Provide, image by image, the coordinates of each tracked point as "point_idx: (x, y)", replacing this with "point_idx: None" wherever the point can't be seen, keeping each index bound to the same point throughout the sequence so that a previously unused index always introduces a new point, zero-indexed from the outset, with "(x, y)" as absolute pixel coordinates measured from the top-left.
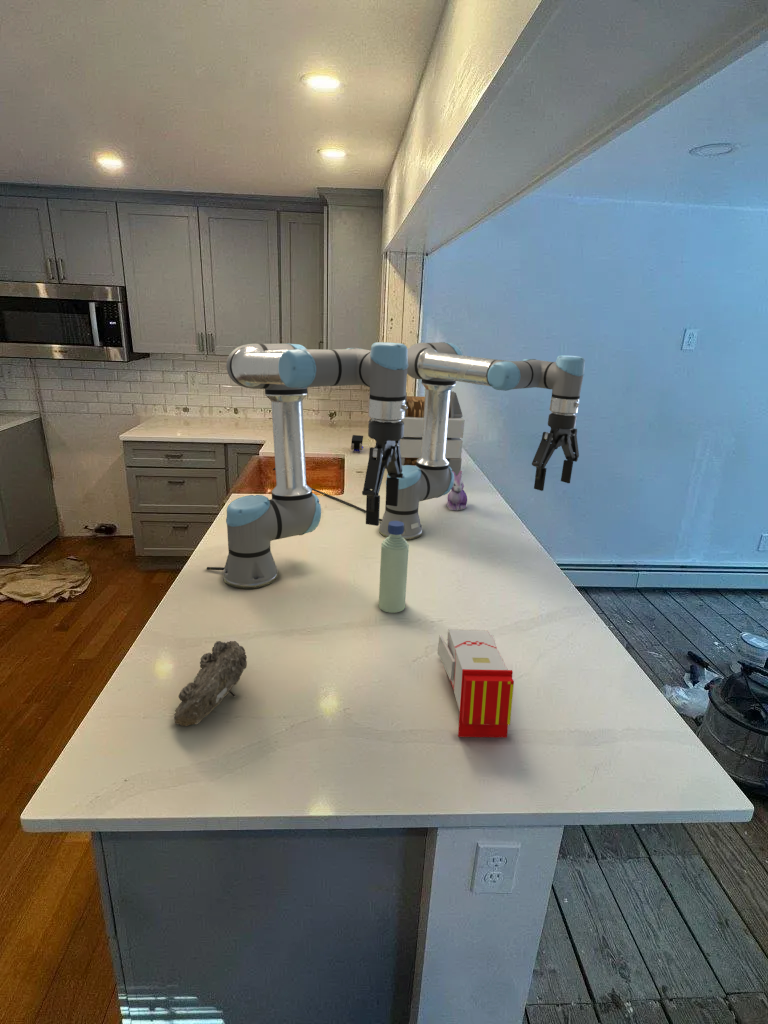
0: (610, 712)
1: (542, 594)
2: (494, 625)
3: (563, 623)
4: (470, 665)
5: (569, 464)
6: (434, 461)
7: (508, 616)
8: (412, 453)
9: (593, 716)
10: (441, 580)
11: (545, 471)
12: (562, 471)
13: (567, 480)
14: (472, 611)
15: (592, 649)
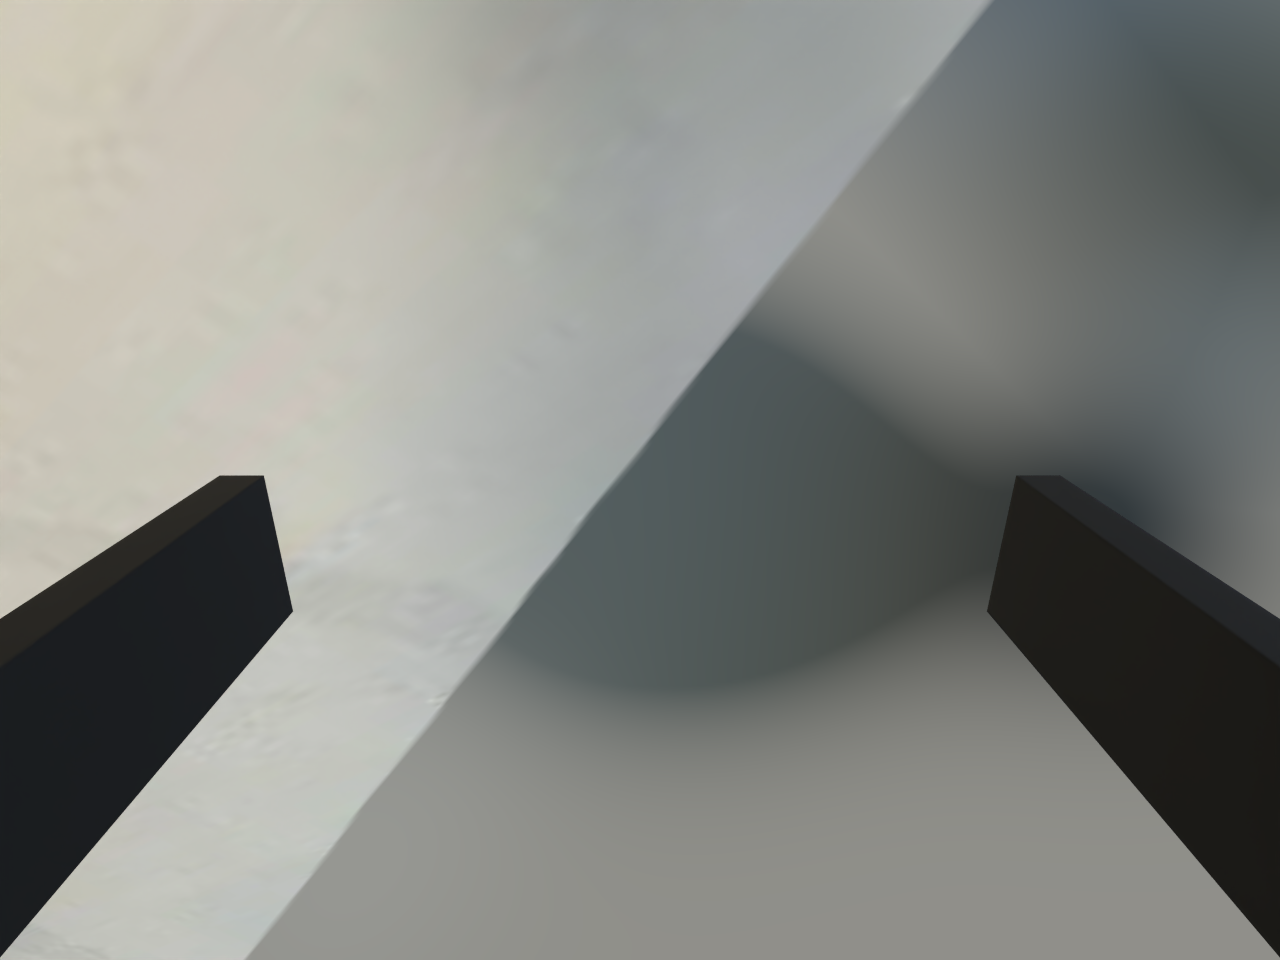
0: (98, 912)
1: (448, 467)
2: (51, 505)
3: (330, 645)
4: None
5: (1242, 848)
6: None
7: (156, 495)
8: None
9: None
10: (36, 11)
11: (22, 895)
12: (1133, 566)
13: (1015, 609)
14: (22, 375)
15: (288, 773)
